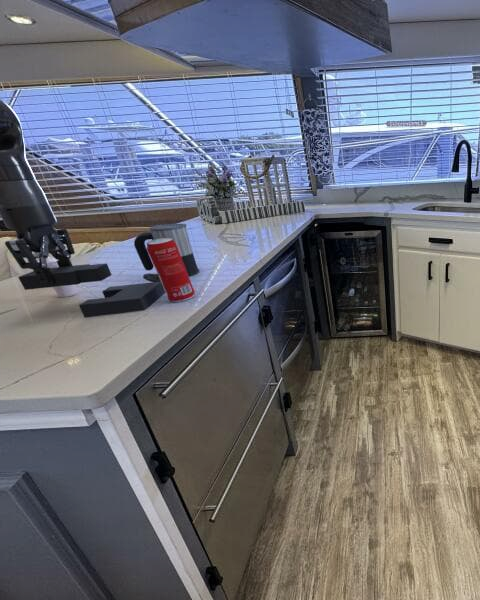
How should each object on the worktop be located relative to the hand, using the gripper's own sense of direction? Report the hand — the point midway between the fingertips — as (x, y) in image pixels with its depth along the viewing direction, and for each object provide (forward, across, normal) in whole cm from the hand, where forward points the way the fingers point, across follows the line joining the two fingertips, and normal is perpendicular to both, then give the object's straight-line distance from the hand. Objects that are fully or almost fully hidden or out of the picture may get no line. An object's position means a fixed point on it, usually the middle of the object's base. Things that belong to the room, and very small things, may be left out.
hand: (59, 279), depth 73 cm
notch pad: (+8, 0, +11) cm, 14 cm away
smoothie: (+8, -13, -9) cm, 18 cm away
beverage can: (+8, +1, +23) cm, 25 cm away
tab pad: (+1, 0, +2) cm, 2 cm away
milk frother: (+8, -18, +15) cm, 25 cm away
